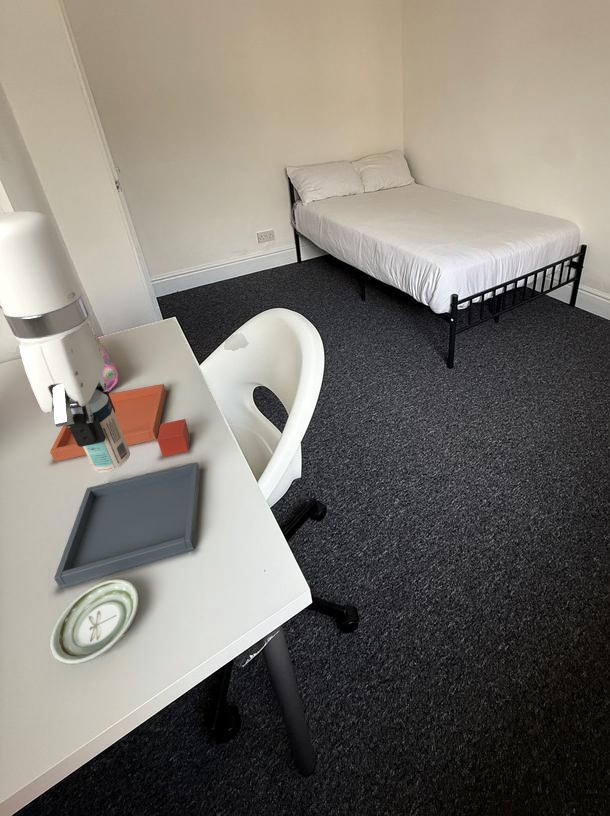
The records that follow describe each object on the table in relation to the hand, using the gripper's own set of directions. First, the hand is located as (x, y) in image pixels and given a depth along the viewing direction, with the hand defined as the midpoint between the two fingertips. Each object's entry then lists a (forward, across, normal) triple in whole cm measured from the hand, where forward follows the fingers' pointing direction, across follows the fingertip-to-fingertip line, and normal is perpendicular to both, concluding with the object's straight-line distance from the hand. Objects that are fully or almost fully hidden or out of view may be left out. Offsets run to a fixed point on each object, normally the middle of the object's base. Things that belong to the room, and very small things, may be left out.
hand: (97, 427), depth 59 cm
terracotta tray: (+20, -27, -9) cm, 35 cm away
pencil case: (+21, -47, -18) cm, 54 cm away
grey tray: (+20, 0, 0) cm, 20 cm away
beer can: (+7, 0, 0) cm, 7 cm away
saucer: (+21, +15, -2) cm, 26 cm away
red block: (+20, -16, +4) cm, 26 cm away
